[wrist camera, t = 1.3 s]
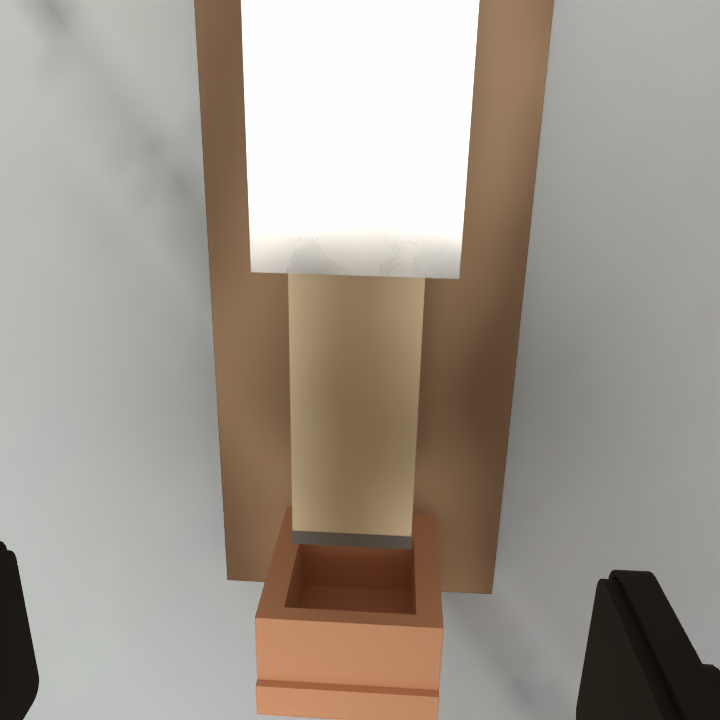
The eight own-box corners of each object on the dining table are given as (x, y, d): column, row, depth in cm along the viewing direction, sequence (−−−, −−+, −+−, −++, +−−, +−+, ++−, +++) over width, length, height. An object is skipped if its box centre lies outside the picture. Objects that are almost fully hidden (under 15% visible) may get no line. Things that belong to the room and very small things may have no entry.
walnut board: (550, -49, 23) (560, -59, 22) (487, 572, 32) (491, 594, 31) (203, -52, 24) (190, -63, 22) (234, 559, 33) (227, 579, 31)
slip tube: (436, -37, 21) (444, -70, 17) (409, 487, 27) (411, 549, 23) (303, -38, 21) (281, -71, 17) (307, 482, 27) (292, 543, 23)
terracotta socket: (434, 514, 29) (443, 635, 23) (429, 590, 31) (436, 725, 24) (286, 507, 30) (253, 624, 23) (288, 583, 31) (256, 714, 24)
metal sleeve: (461, -42, 22) (486, -104, 16) (444, 235, 25) (459, 278, 19) (284, -44, 22) (237, -105, 16) (289, 231, 26) (251, 272, 19)
